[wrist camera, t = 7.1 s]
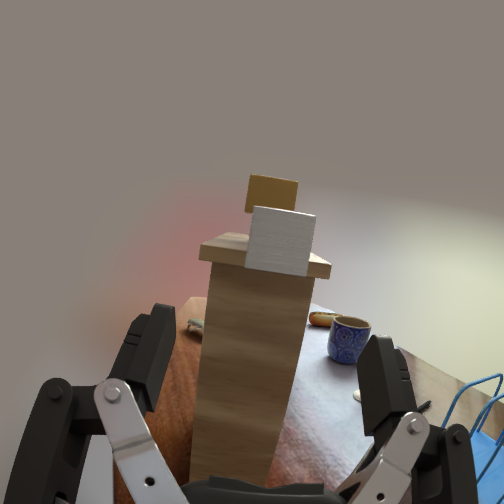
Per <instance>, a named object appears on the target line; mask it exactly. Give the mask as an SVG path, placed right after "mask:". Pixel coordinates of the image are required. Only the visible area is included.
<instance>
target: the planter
mask: <svg viewBox="0 0 504 504" xmlns="http://www.w3.org/2000/svg"><path fill="white" fill-rule="evenodd" d="M370 330H371V324H370V323H369V322H367V321H365V320H362V319H359V318H355V317H350V316H336V317H334V318H333V321H332V325H331V329H330V334H329V339H328V345H327V350H328V354H329V356H330V357H331V358H332V359H333V360H335V361H337V362H339V363H343V364H352V363H355V362H357V360H358V357H359V355H360V353H361V352H362V350H363V349H364V347H365V345H366V344H367V342H368V338H369V335H370Z"/></svg>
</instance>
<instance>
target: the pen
mask: <svg viewBox="0 0 504 504" xmlns="http://www.w3.org/2000/svg"><path fill="white" fill-rule="evenodd" d="M430 403H431V401H427V402H426V403H424V404H423V405H421V406H420V407H418V408H417V410H418V413H419V412H420V411H421V410H423V409H424V408H426V407H427V406H428V405H430Z"/></svg>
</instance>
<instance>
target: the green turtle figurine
mask: <svg viewBox="0 0 504 504" xmlns="http://www.w3.org/2000/svg"><path fill="white" fill-rule="evenodd" d="M204 321H205V320H202V319H199V318H193V319H189V321H188V323H189V325H188V328H189V327H190V326H191V325H192V326H196V327H197V328H194V329H193V330H195V329H201V328H202V329H201V330H202V332H203V329H204ZM188 328H186V329H188ZM193 330H189V331H190V332H191V331H193Z"/></svg>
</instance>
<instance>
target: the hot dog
mask: <svg viewBox="0 0 504 504" xmlns="http://www.w3.org/2000/svg"><path fill="white" fill-rule="evenodd" d="M336 316H343V315H339V314H335V313H325V312H311V313H310V315H309V321H310V323H311V324H312V325H316V326H323V327H331V325H332V321H333V318H334V317H336Z"/></svg>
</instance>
